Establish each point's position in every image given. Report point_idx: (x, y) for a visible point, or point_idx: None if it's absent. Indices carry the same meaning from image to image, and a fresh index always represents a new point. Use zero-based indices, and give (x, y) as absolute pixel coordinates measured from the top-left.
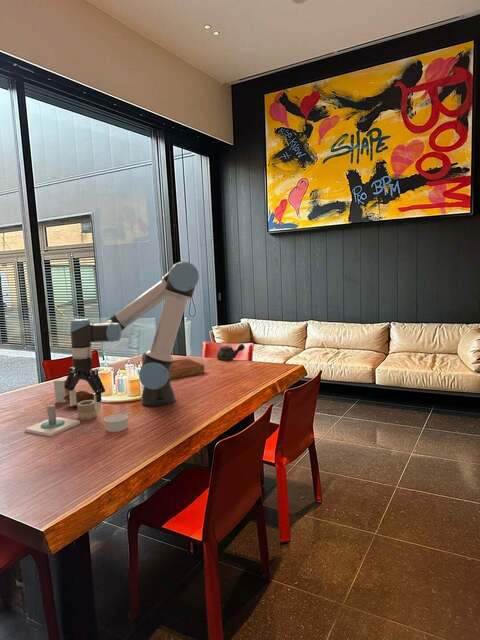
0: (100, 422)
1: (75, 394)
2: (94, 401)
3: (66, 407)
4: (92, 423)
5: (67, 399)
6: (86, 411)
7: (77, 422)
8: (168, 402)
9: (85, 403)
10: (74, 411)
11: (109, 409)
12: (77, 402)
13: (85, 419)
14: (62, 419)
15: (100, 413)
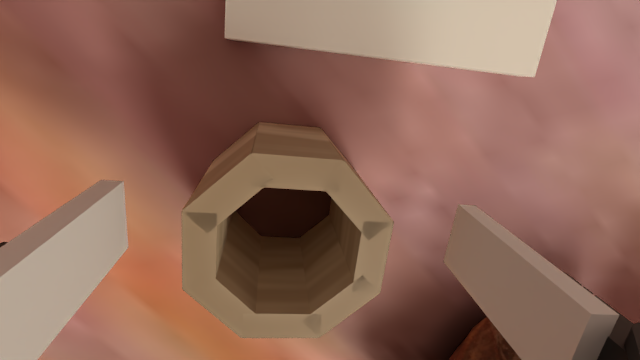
0: (60, 112)
1: (507, 332)
2: (56, 227)
3: None
4: (114, 71)
5: None
6: (229, 157)
7: (226, 5)
8: None
9: (336, 275)
10: None
11: (233, 356)
12: (505, 341)
13: (248, 131)
14: (417, 25)
15: None
